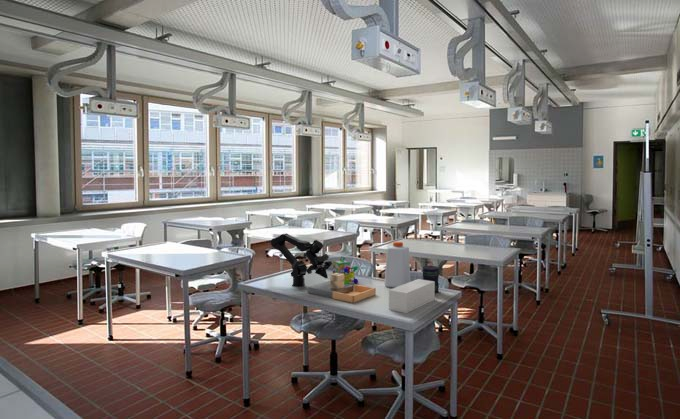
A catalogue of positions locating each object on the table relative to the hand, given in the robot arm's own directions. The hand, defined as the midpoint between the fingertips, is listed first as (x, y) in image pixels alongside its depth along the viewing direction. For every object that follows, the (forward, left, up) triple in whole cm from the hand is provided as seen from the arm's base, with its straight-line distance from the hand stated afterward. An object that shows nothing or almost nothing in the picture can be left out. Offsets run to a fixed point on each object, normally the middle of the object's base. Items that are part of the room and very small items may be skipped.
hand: (327, 278), depth 285 cm
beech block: (+7, -3, -5) cm, 9 cm away
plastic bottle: (+38, +27, -8) cm, 48 cm away
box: (+19, -7, -8) cm, 22 cm away
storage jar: (+60, +18, -8) cm, 64 cm away
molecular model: (+7, +22, -8) cm, 25 cm away
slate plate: (+3, -1, -8) cm, 9 cm away
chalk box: (-3, +36, -8) cm, 37 cm away
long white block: (+54, -12, -9) cm, 56 cm away
